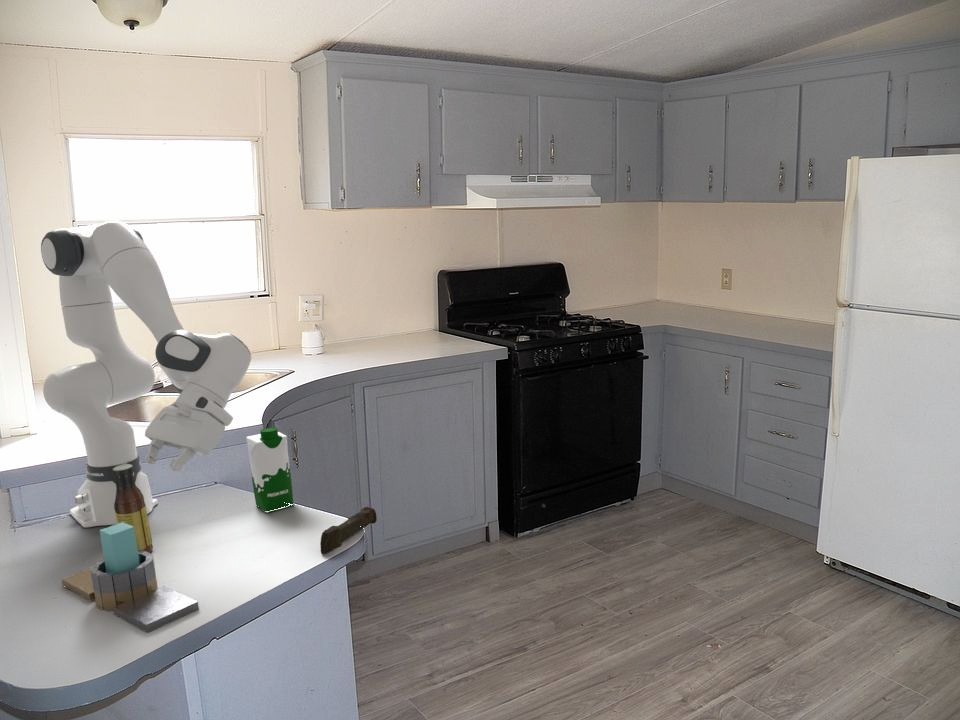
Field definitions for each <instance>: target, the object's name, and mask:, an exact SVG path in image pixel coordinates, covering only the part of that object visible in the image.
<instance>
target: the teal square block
mask: <svg viewBox="0 0 960 720" xmlns="http://www.w3.org/2000/svg"><path fill="white" fill-rule="evenodd" d="M99 535H100V536H99V537H100V543H101V548H102V554H103V559H104V561H105V568H106V573H116V572H122V571H127V570H130V569H132V568H135V567H137V566H139V565H140V562H139V556H138V549H137V543H136V537H135V530H134V527H133V526H131V525H128V524H126V523H123V522H122V523H119V524H114V525H109V526H108V527H105V528H102V529H99Z"/></svg>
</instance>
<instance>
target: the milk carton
mask: <svg viewBox="0 0 960 720" xmlns="http://www.w3.org/2000/svg"><path fill="white" fill-rule="evenodd" d="M259 432H260V433H258V434H254V435H249V436H246V439H245V440H246V444H247V449H248V455H249V456H248V457H249V464H250V471H251V481H252V488H253V495H254V499H255V506H256V505H257V506H259V507H260V508H261V509H263V510H264V511H270V510H274V509H278V508H281V507H284V506H285V507H286V506H288V505H289V504H288V503H290V504H293V505H294V496H293V485H292V484H293V483H292V475H291V465H290V457H289V447H288V435H286V434H284V433H282V432H280V431H278V428H277V427H265V428H262V429H261V430H260V431H259ZM284 502H285V503H284ZM286 503H287V504H286ZM293 505H292V507H294V506H293ZM257 506H256V507H257ZM290 506H291V505H290ZM260 508H259V509H260ZM261 509H260V510H261ZM263 510H262V511H263ZM264 511H263V512H264Z"/></svg>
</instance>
